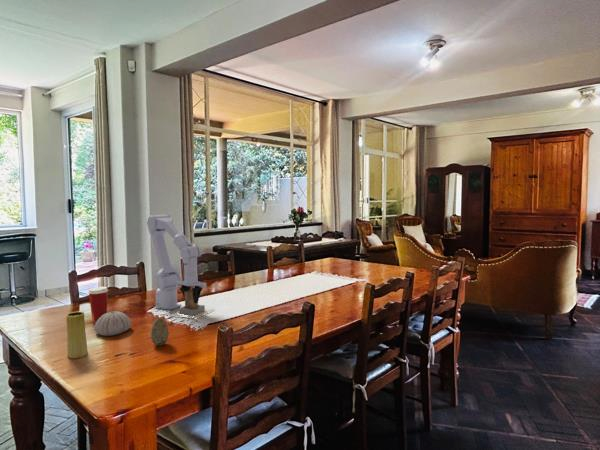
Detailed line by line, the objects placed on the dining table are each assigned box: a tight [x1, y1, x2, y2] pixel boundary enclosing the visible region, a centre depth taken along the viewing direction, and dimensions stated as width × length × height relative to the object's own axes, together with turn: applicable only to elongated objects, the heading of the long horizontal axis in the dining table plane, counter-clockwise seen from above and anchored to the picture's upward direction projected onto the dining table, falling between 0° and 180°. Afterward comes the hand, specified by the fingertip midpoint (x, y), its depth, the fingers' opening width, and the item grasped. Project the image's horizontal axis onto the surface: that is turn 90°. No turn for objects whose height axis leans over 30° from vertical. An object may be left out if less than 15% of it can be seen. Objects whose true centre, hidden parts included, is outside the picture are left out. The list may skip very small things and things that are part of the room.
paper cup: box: [87, 286, 109, 324], centre depth 174 cm, size 8×8×14 cm
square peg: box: [184, 288, 199, 309], centre depth 183 cm, size 4×4×8 cm
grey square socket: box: [168, 304, 215, 319], centre depth 183 cm, size 14×14×4 cm
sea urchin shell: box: [93, 310, 132, 337], centre depth 160 cm, size 13×14×8 cm
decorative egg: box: [150, 317, 169, 347], centre depth 146 cm, size 6×6×10 cm
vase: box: [65, 311, 89, 359], centre depth 137 cm, size 6×6×14 cm
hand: (191, 302), depth 183 cm, fingers closed on square peg, 4 cm apart
